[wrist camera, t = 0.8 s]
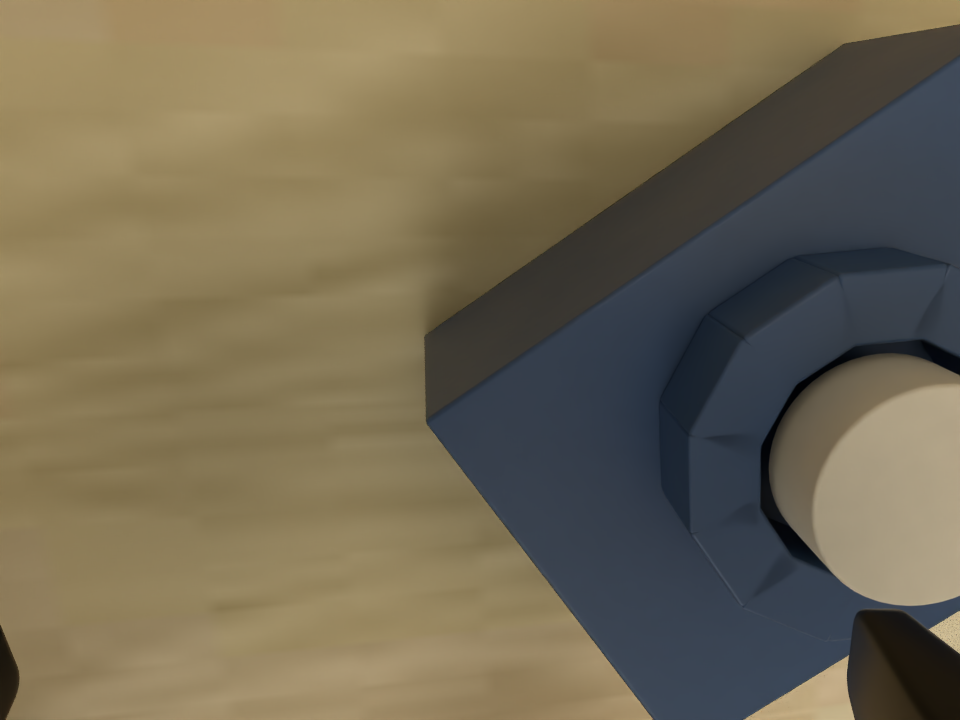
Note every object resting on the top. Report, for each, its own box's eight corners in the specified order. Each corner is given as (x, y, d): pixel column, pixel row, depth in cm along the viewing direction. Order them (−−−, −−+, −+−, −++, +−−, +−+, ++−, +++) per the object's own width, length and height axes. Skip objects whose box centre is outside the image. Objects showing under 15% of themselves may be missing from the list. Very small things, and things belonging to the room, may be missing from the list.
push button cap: (829, 590, 15) (880, 648, 14) (728, 433, 14) (769, 475, 13) (1011, 477, 15) (1086, 522, 13) (919, 308, 14) (988, 335, 12)
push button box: (616, 596, 24) (711, 829, 16) (422, 335, 21) (424, 460, 14) (1005, 347, 22) (1311, 469, 15) (845, 41, 20) (1109, -4, 12)
